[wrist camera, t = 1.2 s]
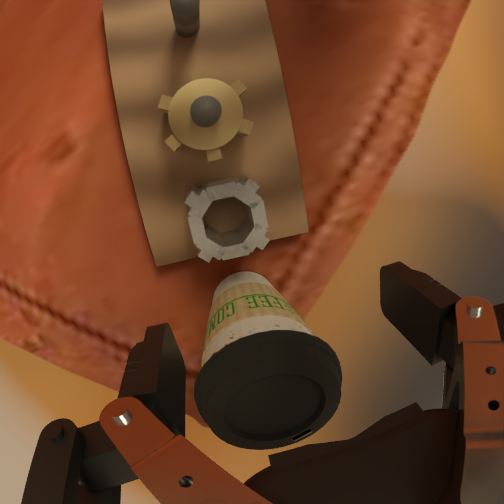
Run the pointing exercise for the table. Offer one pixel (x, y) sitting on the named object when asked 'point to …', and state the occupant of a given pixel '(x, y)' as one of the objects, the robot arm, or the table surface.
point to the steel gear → (235, 240)
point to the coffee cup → (263, 368)
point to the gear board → (150, 126)
